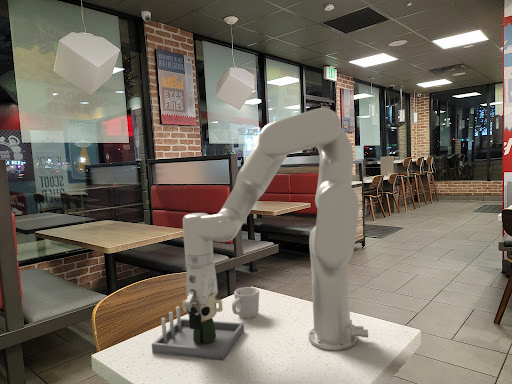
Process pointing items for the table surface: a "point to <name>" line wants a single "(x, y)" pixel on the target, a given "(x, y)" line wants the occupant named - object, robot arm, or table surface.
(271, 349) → the table surface
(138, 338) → the table surface
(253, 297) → the cup
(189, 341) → the dish rack
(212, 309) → the character mug
